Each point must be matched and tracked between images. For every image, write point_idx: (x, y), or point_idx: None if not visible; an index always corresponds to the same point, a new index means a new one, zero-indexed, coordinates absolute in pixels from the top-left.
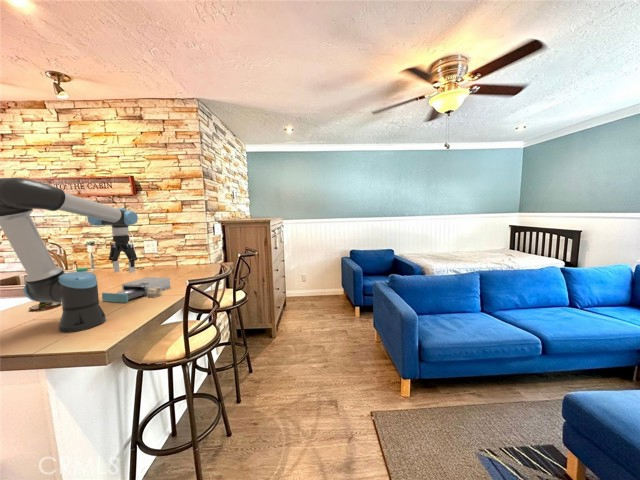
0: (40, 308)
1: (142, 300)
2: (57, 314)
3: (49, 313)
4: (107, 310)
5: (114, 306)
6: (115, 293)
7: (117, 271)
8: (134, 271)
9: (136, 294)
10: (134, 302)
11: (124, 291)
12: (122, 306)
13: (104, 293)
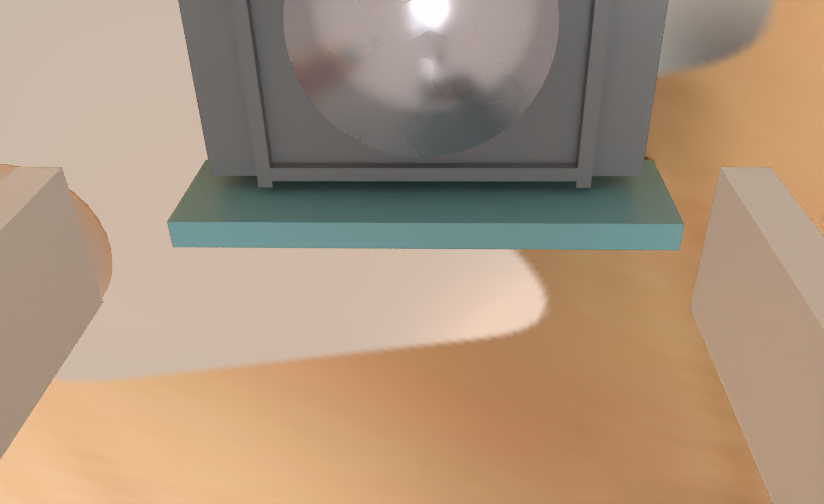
0: None
1: (804, 34)
2: (227, 500)
3: (118, 493)
4: (625, 385)
5: (583, 289)
6: (429, 230)
7: (71, 241)
8: (777, 188)
9: (664, 18)
10: (738, 132)
11: (413, 63)
12: (694, 276)
13: (225, 245)
